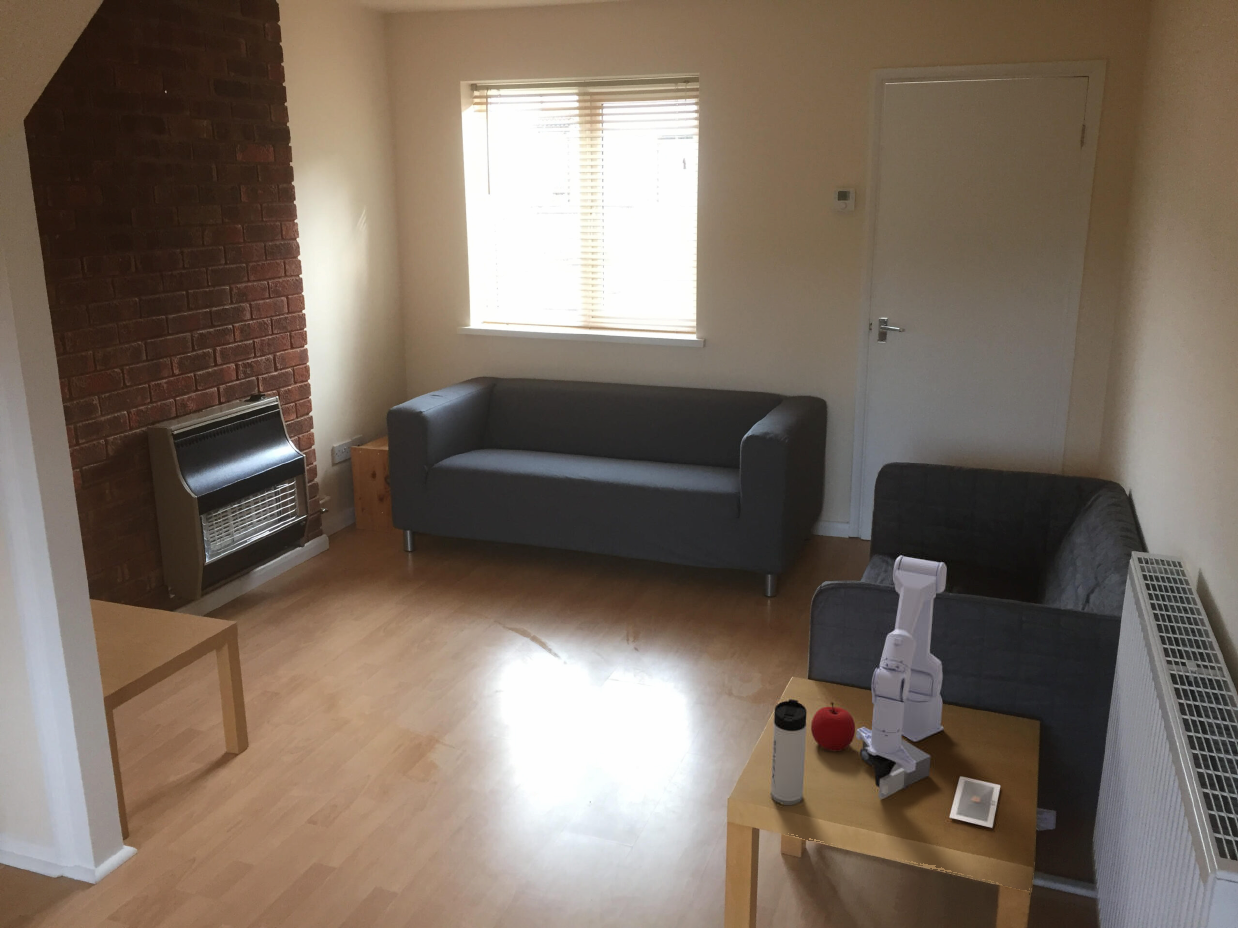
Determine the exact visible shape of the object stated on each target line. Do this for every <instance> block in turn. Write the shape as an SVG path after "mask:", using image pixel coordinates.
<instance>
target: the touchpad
mask: <svg viewBox="0 0 1238 928" xmlns="http://www.w3.org/2000/svg"><path fill="white" fill-rule="evenodd" d="M1000 788H1001V785H1000V784H996V783H992V782H988V781H987V782H986V781H982V780H978V779H974V778H970V777H965V776H959V779H958V783H957V787H956V790H955V794H954V799H953V802H952V806H951V810H950V814H949V818H950V819H955V820H958V821H963V822H967V823H971V824H975V825H979V826H983V827H987V828H991V829H992V828H993V826H994V822H995V816H996V815H995V814H996V811H997V807H998V799H999V795H1000V790H1001V789H1000Z"/></svg>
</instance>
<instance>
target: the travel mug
mask: <svg viewBox="0 0 1238 928" xmlns="http://www.w3.org/2000/svg"><path fill="white" fill-rule="evenodd" d="M807 711H808V710H807V708H806V707H805V706H804V705H803V703H800V702H799V700H797V699H790V698H789V699H788V700H785V701H781V702H779V703H778V704H776V705H775V707H774V713H773V715H774V718H773V730H772V731H773V733H772V754H771V755H772V758H771V759H772V760H771V761H772V762H771V781H770V782H771V783H770V786H771V788H770V797H771V799H772V798H773V799H774V800H775V802H776V801H777V802H779V803H783V804H785V805H784V806H794V805H793V804H795V805H797V803H798V804H799V803H801V801H802V799H803V798H804V797H803V796H804V794H803V793H804V791H803V790H804V775H805V774H804V773H805V759H806V758H805V757H806V756H805V754H806V735H807V713H808V712H807ZM773 799H772V800H773ZM774 800H773V801H774ZM777 802H776V803H777ZM779 803H778V804H779ZM791 804H792V805H791Z"/></svg>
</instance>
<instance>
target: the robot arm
mask: <svg viewBox="0 0 1238 928" xmlns="http://www.w3.org/2000/svg"><path fill="white" fill-rule="evenodd" d="M946 581H947V565H946V564H945V562H942V561H941V562H938V561H934V560H926V559H920V558H914V557H908V556H904V555H899V556H898V557H897V558H896V559H895V562H894V565H893V572H892V582H893V583H894V588H895V589H894V590H895V591H896V593H898V595H899V599H898V605H897V606H898V607H897V611H896V612H897V613H896V618H895V626H894V630H893V631H891V632H889V633H888V634H887V635H886V638H885V642H884V647H883V650H882V655H881V658H880V662H879V667H876V668H875V670H874V672H873V675H872V679H871V696H872V700H871V703H872V704H873V711H872V722H871V723H872V725H871V729H868V728H867V727H865V726H863V727H860V728H857V729H856V732H855V734H856V735H855V737H856V739H857V740H858V741H859V740H860V741H861V740H862V741H863V740H864V741H865V743H866V744H867V745H868V750H867V751H868V752H869V754H868V758H869V759H870V761H871V763H872V765H873V766H872V765H871V766H872V768H873V771H874V775H875V780H874V781H875V786H876V787H878V788H879V784H880V779H881V778H883V777H885V776H887V775H889V774H890V772H891V770H892V769H893V767H894V766H895V764H896V763H898V764H899V765H901V766H902V767H903V768H904V771H905V772H907V773H909V772H912V771H914V770H915V766H916V761H914V760H913V759H912V758H911V757H910V756H909V755H908V753H907V752H906V751H905V749H904V748H903V747H902V746H901V739H902V736H903V737H904V738H905V737H906V739H908V740H910V741H912V742H914V743H915V742H918V741H922V740H923V739H925V738H927V737H930V736H932V735H934V734H937V733H938V732H941V731H943V730H944V727H943V726H942V725H941V723H942V711H943V699H942V696H941V694H940V693H941V690H942V684H943V677H944V676H943V664H942V661H941V660H940V659H938V658H937V657H936V656H934V655H933V654H932V653H931V639H932V624H933V615H934V614H933V613H934V610H933V609H934V599H935V598H936V595H937V594H940V593H943V592H944V591H945V589H946V583H947V582H946Z"/></svg>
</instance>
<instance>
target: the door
mask: <svg viewBox="0 0 1238 928" xmlns="http://www.w3.org/2000/svg"><path fill="white" fill-rule="evenodd" d="M906 780H907V772H905V771H904V768H903V767H902V768H900V769H898V770H896V771H894V772H893V773H891V774H889V775H887V776H885V777H883V778H881V779H880V784H879V787H878V798H879V799H880V800H883V799H885V798H887V797H889V796H890V795H893V794H894V793H896V792H898V791H900V790H906V789H907V786H906Z"/></svg>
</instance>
